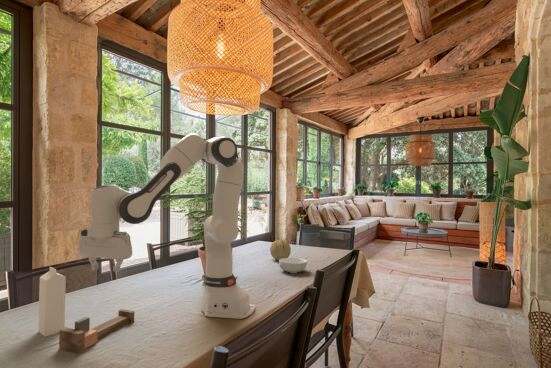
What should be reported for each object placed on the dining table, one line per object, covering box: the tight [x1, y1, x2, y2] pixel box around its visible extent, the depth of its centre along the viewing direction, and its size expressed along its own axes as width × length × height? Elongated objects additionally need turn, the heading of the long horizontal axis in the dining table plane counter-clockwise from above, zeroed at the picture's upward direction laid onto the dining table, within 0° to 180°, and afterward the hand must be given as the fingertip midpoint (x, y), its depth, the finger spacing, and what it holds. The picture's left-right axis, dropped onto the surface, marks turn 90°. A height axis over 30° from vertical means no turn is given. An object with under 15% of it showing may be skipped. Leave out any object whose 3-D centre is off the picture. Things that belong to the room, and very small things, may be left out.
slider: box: [74, 316, 98, 350], centre depth 102 cm, size 7×5×8 cm
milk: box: [37, 266, 67, 337], centre depth 111 cm, size 6×6×22 cm
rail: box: [58, 308, 135, 355], centre depth 109 cm, size 8×24×6 cm, turn 162°
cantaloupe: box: [269, 238, 292, 261], centre depth 224 cm, size 15×15×15 cm
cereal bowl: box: [278, 257, 308, 274], centre depth 194 cm, size 17×17×7 cm
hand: (105, 270), depth 111 cm, fingers open, 8 cm apart
